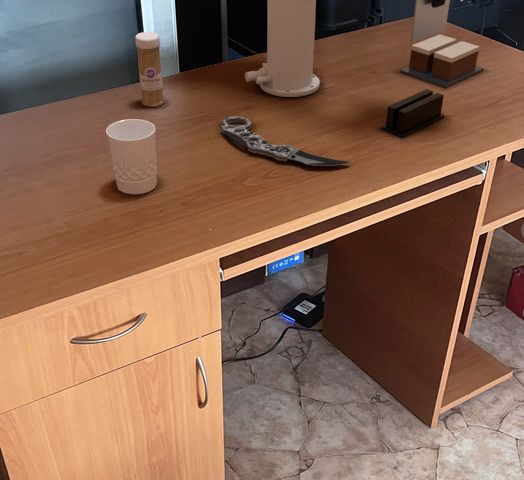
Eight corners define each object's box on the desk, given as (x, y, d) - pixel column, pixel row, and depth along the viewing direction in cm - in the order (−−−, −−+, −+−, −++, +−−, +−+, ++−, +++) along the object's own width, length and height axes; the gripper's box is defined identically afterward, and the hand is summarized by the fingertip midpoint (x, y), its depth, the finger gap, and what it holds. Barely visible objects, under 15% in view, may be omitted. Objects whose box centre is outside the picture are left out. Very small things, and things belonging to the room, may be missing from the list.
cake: (445, 88, 165) (449, 61, 161) (399, 72, 171) (403, 46, 167) (483, 70, 172) (488, 44, 168) (438, 56, 179) (442, 31, 175)
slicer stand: (402, 138, 147) (405, 114, 144) (381, 129, 149) (383, 106, 146) (444, 117, 154) (447, 95, 151) (422, 109, 156) (426, 87, 153)
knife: (352, 158, 137) (314, 174, 132) (351, 166, 138) (314, 183, 133) (240, 111, 153) (201, 124, 147) (240, 119, 154) (201, 132, 148)
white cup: (140, 201, 128) (134, 144, 122) (103, 188, 132) (95, 132, 125) (169, 181, 134) (165, 126, 127) (133, 169, 137) (127, 114, 130)
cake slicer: (412, 44, 142) (421, -21, 134) (405, 41, 142) (413, -24, 135) (449, 30, 147) (459, -33, 140) (442, 28, 148) (452, -35, 141)
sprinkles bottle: (145, 109, 156) (138, 40, 147) (139, 100, 159) (132, 32, 150) (167, 105, 157) (162, 37, 148) (160, 97, 160) (155, 29, 152)
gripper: (398, -117, 132) (385, -2, 144) (476, -102, 123) (455, 20, 135) (426, -123, 135) (411, -10, 147) (503, -108, 127) (481, 10, 139)
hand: (432, 3), depth 141 cm, fingers closed on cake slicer
